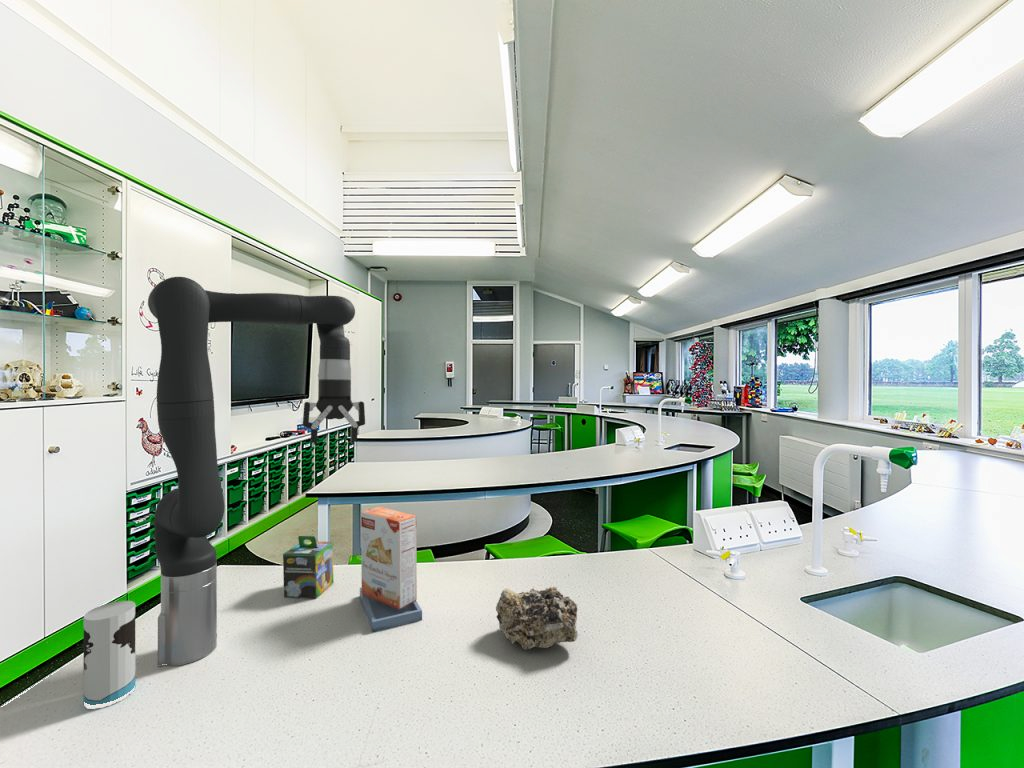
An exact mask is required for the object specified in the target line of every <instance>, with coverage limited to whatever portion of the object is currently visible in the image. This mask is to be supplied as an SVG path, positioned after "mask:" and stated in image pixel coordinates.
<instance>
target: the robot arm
mask: <svg viewBox="0 0 1024 768" xmlns="http://www.w3.org/2000/svg"><path fill="white" fill-rule="evenodd" d="M147 299H148V300H147V306H148V309H149V311H150V314H152V315H153V317H155V319H156V320H157V321H156V322H157V327H158V332H159V336H160V345H161V346H160V347H161V348H160V350H161V353H160V361H159V362H160V363H159V369H158V374H157V381H156V383H157V384H156V409H157V410H156V412H157V423H158V429H159V433H160V435H161V437H162V439H163V442H164V444H165V446H166V448H167V451H168V452H169V454H170V457H171V459H172V461H173V462H174V466H175V469H176V472H177V481H178V486H177V488H173V489H172V490H170V491H168V492H167V493H166V494H164V495H163V496H162V497H161V499H160V500H159V502H158V503H157V505H156V508H155V512H154V521H153V522H154V523H153V525H154V541H155V542H154V543H155V546H154V547H155V554H156V559H157V561H158V564H159V566H160V613H159V614H158V615H157V666H158V665H162V664H167V665H166V666H169V665H177V666H184V665H187V663H188V664H190V663H193V661H194V662H196V661H199V660H201V659H203V658H205V657H207V656H208V655H210V654H211V653H212V652H213V651H214V650H215V649H216V648H217V644H218V643H217V640H218V639H217V638H218V633H217V632H218V631H217V629H218V622H217V621H218V620H217V619H218V614H217V613H218V610H217V609H218V608H217V607H218V604H217V603H218V598H217V597H218V593H217V592H218V590H217V589H218V587H217V586H218V581H217V580H218V575H217V571H218V570H217V569H218V566H217V562H218V561H217V559H218V557H217V556H218V555H217V554H218V553H217V550H216V548H215V547H214V545H212V544H211V542H210V541H209V538H208V536H209V535H211V534H212V533H214V532H215V531H216V530H217V529H218V527H220V525H221V524H222V521H223V519H224V515H225V507H226V506H225V499H224V493H223V486H222V481H221V476H220V470H219V463H218V455H217V453H218V452H217V450H218V449H217V437H216V424H215V423H216V421H215V419H216V416H215V415H216V414H215V400H214V390H213V389H214V388H213V379H212V371H211V366H210V365H211V364H210V359H209V352H208V350H209V349H208V339H209V338H208V335H209V324H210V323H253V324H269V325H282V326H283V325H285V326H286V325H287V326H288V325H289V326H290V325H291V326H303V325H304V326H306V325H311V324H316V328H317V329H316V330H317V333H318V334H317V336H318V338H319V363H318V374H317V377H318V378H317V379H318V384H317V385H318V386H317V387H318V391H317V392H318V394H317V397H318V398H317V401H316V402H309V401H305V402H304V404H303V413H302V414H303V416H302V426H303V427H305V428H308V429H310V441H311V443H313V445H314V446H316V445H318V429H317V428H318V427H319V425H320V424H321V423H322V422H323V421H324V419H326V420H333V419H337V420H342V419H346V421H347V422H348V424H349V425H350V426H351V427H350V444H355V442H356V441H358V428H359V427H361V426H364V425H366V415H365V403H364V402H363V401H358V402H357V401H354V402H353V400H352V367H351V343H350V339H349V338H347V337H346V336H345V329H344V327H345V325H348V324H349V323H351V321H353V319H354V318H355V316H356V309H355V308H356V307H355V306H354V304H353V303H352V302H351V300H349V299H348V298H346V297H344V296H340V295H301V294H293V293H278V292H277V293H276V292H255V293H254V292H253V293H250V292H249V293H230V292H219V291H211V290H206V289H204V288H203V287H202V285H201V284H200V283H198V282H197V281H195V280H193V279H191V278H188V277H186V276H172V277H168V278H166V279H163V280H161V281H160V282H159V283H157V284H156V285H155V286H154V287H153V288H152V290H151V291H150V293H149V295H148V298H147ZM353 407H354V409H355V411H357V412H358V414H357V415H358V420H357V421H355V420H354V418H353V417H352V415H351V414H350V413H349V412H350V411H351V410H352V408H353ZM314 408H316V409H317V410H318V411H319V412H320V413H319V415H318V416H316V418H315V420H314V421H313V422H310V412H313V411H314ZM162 666H163V665H162Z"/></svg>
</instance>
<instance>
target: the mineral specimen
mask: <svg viewBox="0 0 1024 768" xmlns="http://www.w3.org/2000/svg"><path fill="white" fill-rule="evenodd" d="M495 611H496V612H497V615H496V619H497V621H498V625H499V630H501V633H504V635H505V638H506V639H507V640H509V641H510V643H512V644H514V643H515V642H517V643H519V644H520V645H521V647H522V649H524V650H531V649H533V648H534V647H536V648H550V647H552V646H553V645H554V644H555V643H557V644H560V643H574V642H576V641H577V639H578V636H579V635H578V634H579V633H578V630H577V620H578V614H577V613H578V605H577V603H575V601H574V600H572V599H571V598H570V597H569V596H564V595H563V594H562V593H561V592H560V591H559V590H558V589H557V587H556V586H549V587H547V588H545V589H544V590H543V589H542V590H537V589H536V590H535V588H531V589H530V590H529V591H526V592H525V591H522V592H520V593H516V592H514V591H512V590H510V589H508V588H504V589H503V590H502V591H501V593H500V597H499V599H498V602H497V603H496V606H495Z"/></svg>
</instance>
